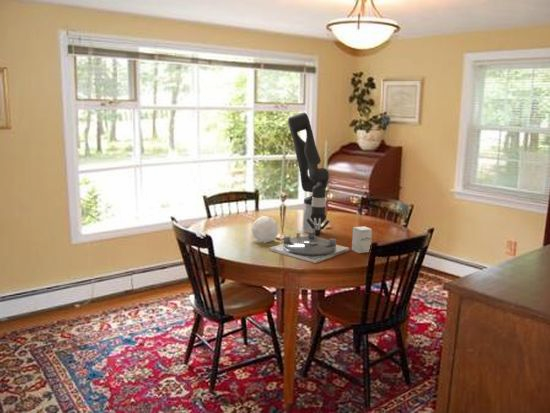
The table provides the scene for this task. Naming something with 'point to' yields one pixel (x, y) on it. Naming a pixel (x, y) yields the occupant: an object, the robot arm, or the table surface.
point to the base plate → (309, 258)
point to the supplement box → (361, 239)
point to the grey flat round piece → (309, 245)
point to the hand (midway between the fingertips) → (317, 236)
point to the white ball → (265, 229)
